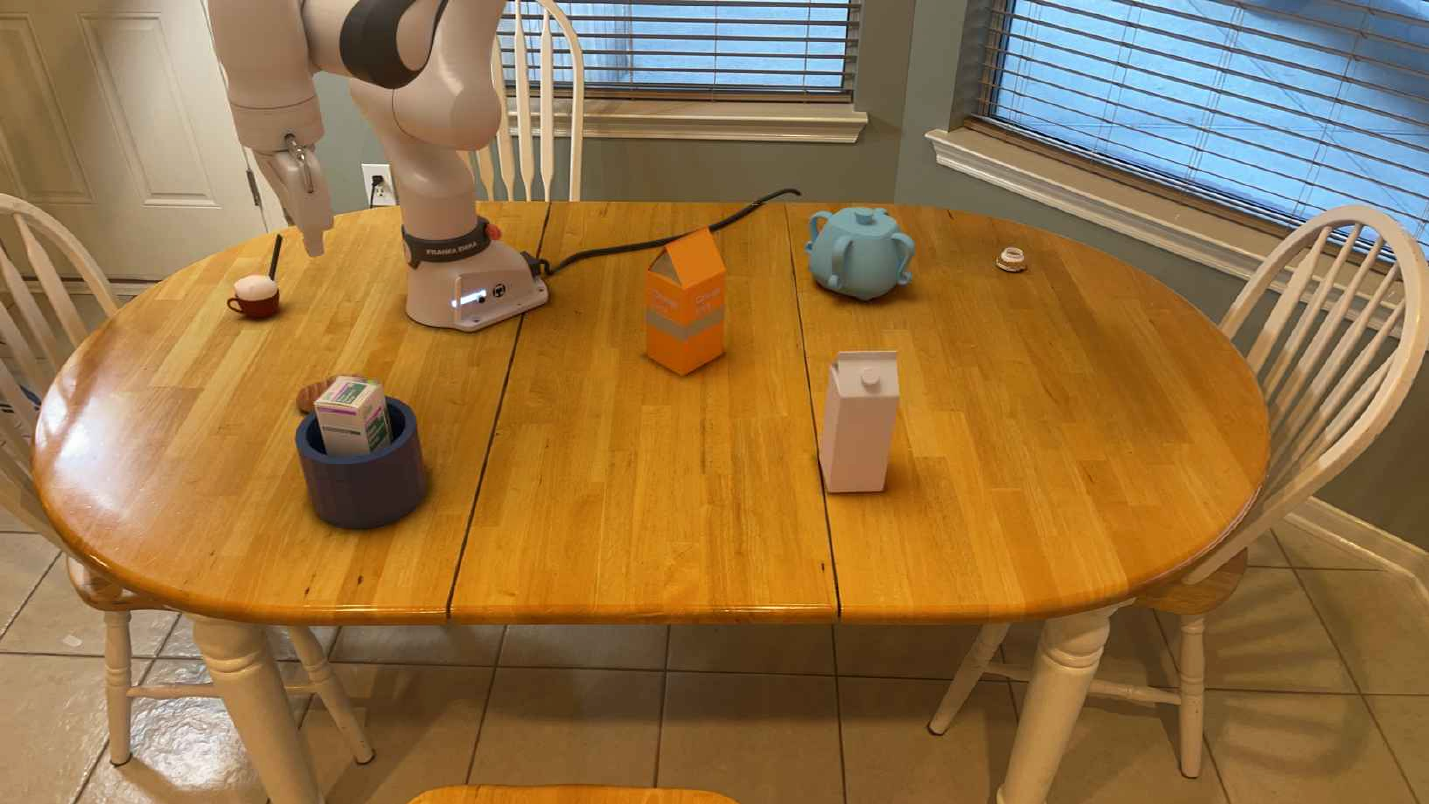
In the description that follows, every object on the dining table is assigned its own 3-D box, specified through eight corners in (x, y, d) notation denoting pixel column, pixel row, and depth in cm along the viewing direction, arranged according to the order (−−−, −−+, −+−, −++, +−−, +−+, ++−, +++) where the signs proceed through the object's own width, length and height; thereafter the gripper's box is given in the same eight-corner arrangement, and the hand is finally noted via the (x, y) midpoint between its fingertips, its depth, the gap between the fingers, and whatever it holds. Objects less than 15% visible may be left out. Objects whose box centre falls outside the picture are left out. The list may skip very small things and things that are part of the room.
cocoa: (230, 325, 156) (210, 255, 149) (235, 304, 161) (216, 236, 154) (295, 319, 158) (279, 250, 151) (299, 299, 163) (283, 231, 156)
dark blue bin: (405, 445, 134) (394, 383, 128) (442, 504, 124) (432, 440, 119) (299, 479, 127) (282, 414, 122) (329, 544, 118) (313, 478, 112)
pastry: (297, 422, 137) (291, 399, 135) (298, 395, 142) (292, 372, 140) (370, 411, 139) (365, 388, 137) (367, 384, 145) (363, 362, 142)
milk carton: (818, 458, 134) (833, 336, 123) (871, 457, 135) (890, 335, 124) (827, 493, 129) (844, 368, 118) (882, 492, 129) (904, 367, 118)
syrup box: (380, 505, 123) (360, 408, 114) (335, 497, 124) (312, 400, 115) (402, 475, 127) (384, 380, 119) (358, 468, 128) (337, 373, 120)
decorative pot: (890, 260, 181) (901, 189, 173) (913, 305, 168) (926, 230, 160) (800, 262, 180) (807, 190, 172) (816, 307, 166) (824, 232, 159)
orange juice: (723, 354, 154) (728, 234, 143) (682, 376, 149) (684, 254, 137) (686, 334, 158) (688, 216, 147) (645, 356, 153) (644, 235, 141)
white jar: (1023, 261, 182) (994, 258, 183) (1026, 246, 181) (998, 243, 181) (1026, 274, 178) (997, 271, 179) (1029, 259, 177) (1000, 256, 177)
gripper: (335, 148, 104) (358, 268, 112) (286, 89, 118) (309, 199, 126) (271, 159, 101) (299, 281, 109) (228, 97, 115) (256, 210, 123)
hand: (304, 237), depth 118 cm, fingers open, 8 cm apart
